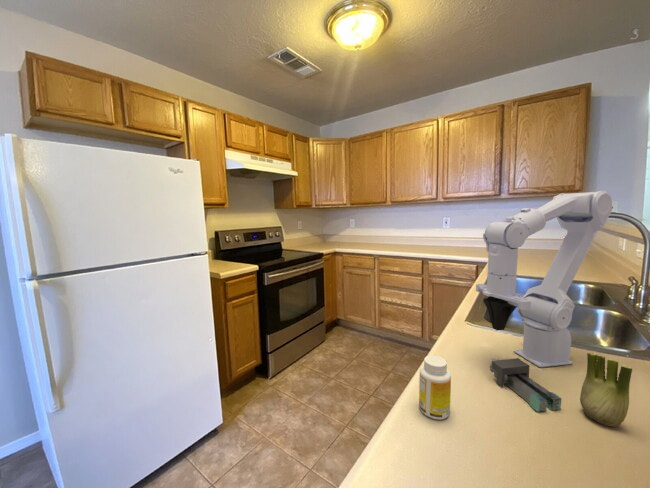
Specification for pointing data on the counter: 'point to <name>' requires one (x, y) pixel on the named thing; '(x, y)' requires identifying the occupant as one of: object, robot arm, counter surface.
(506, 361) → the grey stepped block
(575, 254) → the robot arm
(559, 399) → the tongs base
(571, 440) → the counter surface
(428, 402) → the supplement bottle
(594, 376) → the fennel bulb
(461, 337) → the counter surface
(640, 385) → the counter surface
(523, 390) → the bar
